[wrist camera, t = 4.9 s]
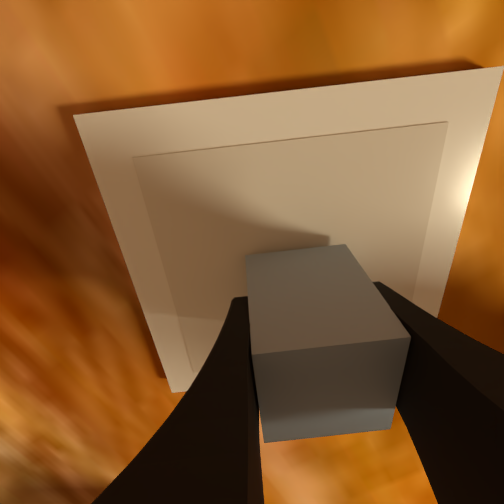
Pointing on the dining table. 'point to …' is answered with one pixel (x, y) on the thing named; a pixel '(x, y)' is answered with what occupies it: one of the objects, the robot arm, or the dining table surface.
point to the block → (321, 344)
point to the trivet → (286, 191)
